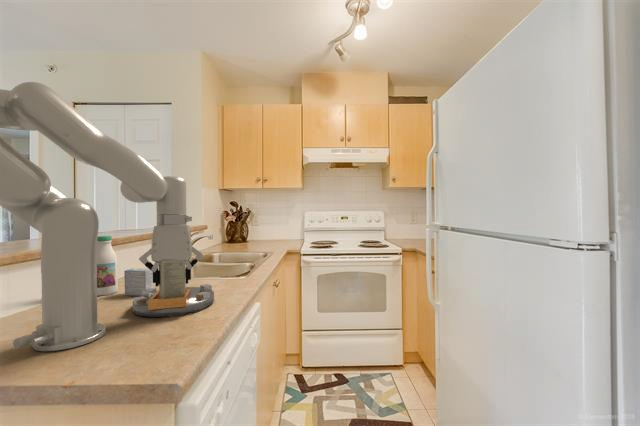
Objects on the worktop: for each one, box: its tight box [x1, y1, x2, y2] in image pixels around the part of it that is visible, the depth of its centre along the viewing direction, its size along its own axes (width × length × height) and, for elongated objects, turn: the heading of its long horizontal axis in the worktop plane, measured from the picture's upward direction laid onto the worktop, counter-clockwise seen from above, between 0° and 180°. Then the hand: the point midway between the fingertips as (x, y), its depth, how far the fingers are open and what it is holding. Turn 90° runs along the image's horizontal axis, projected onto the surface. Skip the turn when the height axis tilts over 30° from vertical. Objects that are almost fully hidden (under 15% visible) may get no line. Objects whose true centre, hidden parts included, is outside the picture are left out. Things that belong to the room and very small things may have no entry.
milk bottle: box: [96, 235, 119, 297], centre depth 104 cm, size 8×8×20 cm
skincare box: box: [158, 260, 186, 299], centre depth 84 cm, size 6×4×12 cm
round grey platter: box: [132, 282, 215, 318], centre depth 90 cm, size 22×22×5 cm
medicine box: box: [123, 267, 155, 297], centre depth 103 cm, size 8×4×9 cm, turn 84°
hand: (172, 283), depth 84 cm, fingers open, 6 cm apart
